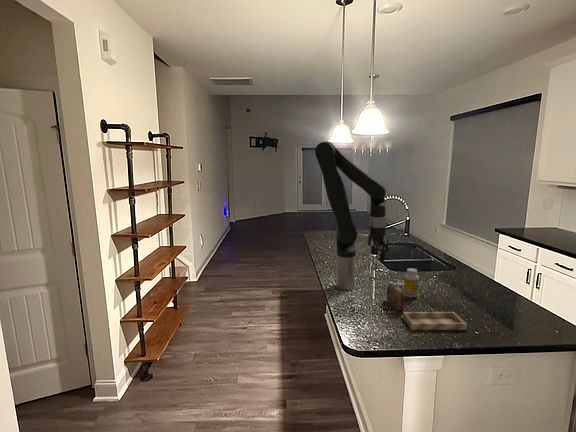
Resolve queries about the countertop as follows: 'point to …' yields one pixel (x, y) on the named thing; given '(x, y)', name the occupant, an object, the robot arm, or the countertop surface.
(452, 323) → the tray
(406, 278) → the supplement bottle
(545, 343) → the countertop surface
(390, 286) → the tin
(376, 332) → the countertop surface
